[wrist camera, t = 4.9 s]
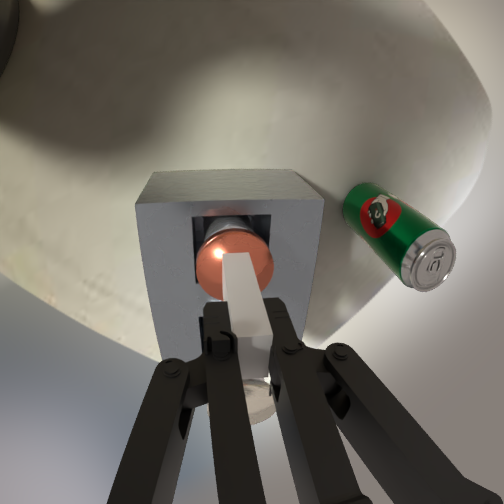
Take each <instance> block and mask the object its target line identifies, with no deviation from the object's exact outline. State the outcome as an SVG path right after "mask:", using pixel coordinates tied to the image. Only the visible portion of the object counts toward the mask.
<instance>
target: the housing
mask: <svg viewBox="0 0 504 504" xmlns="http://www.w3.org/2000/svg"><path fill="white" fill-rule="evenodd" d="M324 202H325V199H324V198H323V197H321V196H320V195H319V194H318V193H317V192H316V191H315V190H314V189H313V188H312V187H311V186H310V185H308V184H307V183H306V182H305V181H304V180H303V179H302V178H301V177H300V176H299V175H297V174H296V173H295V172H294V171H293V170H281V169H222V170H189V171H168V172H154V173H153V174H152V176H151V178H150V179H149V181H148V182H147V184H146V186H145V187H144V189H143V191H142V193H141V194H140V196H139V198H138V199H137V201H136V203H135V210H136V219H137V227H138V235H139V242H140V249H141V256H142V262H143V268H144V274H145V280H146V286H147V291H148V297H149V302H150V307H151V312H152V317H153V322H154V326H155V331H156V335H157V340H158V344H159V348H160V353H161V357H162V361H163V360H165V359H168V358H178V359H181V360H183V361H184V362H188V361H191V360H194V359H196V358H198V357H199V356H200V355H201V354H202V353H203V351H204V342H203V341H204V323H203V308H204V306H205V305H206V303H207V302H220V301H221V300H218V299H216V298H214V297H212V296H210V295H209V294H207V293H206V292H205V291H204V290H203V289H202V287H201V286H200V284H199V282H198V279H197V274H196V259H197V254H198V251H199V249H200V247H201V245H202V244H203V243H204V227H203V216H221V215H248V217H249V220H250V222H251V225H252V228H253V231H254V233H256V234H257V235H259V236H260V237H261V238H262V239H263V240H264V241H265V242H266V244H267V246H268V248H269V250H270V253H271V255H272V258H273V262H274V272H273V276H272V278H271V280H270V282H269V284H268V285H267V287H266V288H265V289H264V290H263V291H262V292H261V295H262V298H274V297H279V298H280V299H281V300H282V301H283V302H284V303H285V305H286V308H287V311H288V313H289V316H290V318H291V321H292V324H293V326H294V329H295V332H296V334H297V337H298V339H299V340H301V341H302V337H303V332H304V327H305V321H306V316H307V311H308V305H309V300H310V294H311V288H312V282H313V277H314V270H315V264H316V258H317V251H318V245H319V238H320V231H321V224H322V217H323V209H324Z"/></svg>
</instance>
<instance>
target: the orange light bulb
mask: <svg viewBox="0 0 504 504" xmlns="http://www.w3.org/2000/svg"><path fill="white" fill-rule="evenodd" d="M203 227H204V243H203V244H202V245H201V247H200V249H199V251H198V254H197V259H196V274H197V279H198V282H199V284H200V286H201V287H202V289H203V290H204V291H205V292H206V293H207V294H209V295H210V296H212V297H214V298H216V299H218V300H221V301H224V299H223V283H222V253H245V252H249V255H250V258H251V261H252V265H253V268H254V272H255V275H256V278H257V282H258V285H259V289H260V292H262V291H263V290H264V289H265V288H266V287H267V285H268V284H269V282H270V280H271V278H272V276H273V272H274V262H273V258H272V255H271V253H270V250H269V248H268V246H267V244H266V242H265V241H264V240H263V239H262V238H261V237H260V236H259V235H257V234H256V233H254V231H253V228H252V225H251V222H250V220H249V217H248V215H221V216H203Z"/></svg>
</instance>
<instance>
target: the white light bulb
mask: <svg viewBox="0 0 504 504" xmlns="http://www.w3.org/2000/svg"><path fill="white" fill-rule="evenodd" d="M242 381H243V387H244V392H245V398H246V403H247V409H248V414H249V420H250V425H254V424H257V423H260V422H262V421H264V420H266V419H268V418H269V417H271V416H272V415H273V414H274V413H275V412H276V408H275V404H274V400H273V396H272V395H271V396H269V388H270V384H268V383H266V382H265V381H264V378H254V379H243V380H242ZM207 410H208V416H209V406H208V403H207Z"/></svg>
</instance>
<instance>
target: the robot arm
mask: <svg viewBox="0 0 504 504" xmlns="http://www.w3.org/2000/svg"><path fill="white" fill-rule="evenodd" d="M18 20H19V6H18V0H0V76H1V74H2V72H3V70H4V68H5V66H6V63H7V61H8V59H9V56H10V53H11V51H12V48H13V45H14V41H15V37H16V33H17V28H18ZM222 283H223V299H224V301H220V302H207V303H206V305H205V306H204V308H203V323H204V341H203V342H204V351H203V353H202V354H201V355H200V356H199V357H198V358H196V359H194V360H191V361H188V362H184V361H183V360H181V359H178V358H168V359H165V360H163V361H161V362H160V363H159V364H158V365H157V367H156V369H155V371H154V374H153V376H152V379H151V381H150V384H149V386H148V389H147V392H146V394H145V397H144V399H143V402H142V405H141V407H140V410H139V413H138V415H137V418H136V421H135V423H134V426H133V429H132V432H131V434H130V437H129V440H128V443H127V445H126V448H125V451H124V454H123V457H122V460H121V462H120V465H119V468H118V471H117V474H116V477H115V480H114V483H113V486H112V489H111V492H110V495H109V498H108V501H107V504H172V502H173V498H174V494H175V489H176V485H177V480H178V476H179V472H180V468H181V464H182V460H183V456H184V452H185V447H186V443H187V439H188V435H189V431H190V427H191V422H192V419H193V415H194V411H195V407H198V406H201V405H204V404H207V403H208V406H209V418H210V429H211V439H212V449H213V458H214V467H215V475H216V484H217V492H218V499H219V504H266V501H265V496H264V491H263V486H262V481H261V477H260V471H259V467H258V461H257V456H256V451H255V446H254V441H253V436H252V430H251V425H250V420H249V414H248V409H247V403H246V398H245V392H244V387H243V381H242V380H243V379H254V378H264V377H268V373H270V377H271V381H270V388H269V396H271V395H272V396H273V400H274V404H275V408H276V412H277V416H278V420H279V424H280V428H281V432H282V436H283V440H284V444H285V448H286V452H287V456H288V460H289V464H290V468H291V472H292V476H293V480H294V483H295V487H296V491H297V495H298V499H299V503H300V504H373V503H372V501H371V500H370V499H369V497H367V496H365V495H363V494H362V493H361V491H360V489H359V486H358V483H357V480H356V478H355V475H354V472H353V469H352V466H351V464H350V461H349V458H348V456H347V453H346V450H345V447H344V445H343V442H342V439H341V437H340V434H339V431H338V429H337V426H338V427H339V429H340V430H341V432H342V433H343V434H344V436H345V437H346V439H347V440H348V441H349V443H350V444H351V445H352V447H353V448H354V450H355V451H356V452H357V454H358V455H359V457H360V458H361V459H362V461H363V462H364V464H365V465H366V466H367V468H368V469H369V470H370V472H371V473H372V475H373V476H374V477H375V479H376V480H377V481H378V483H379V484H380V485H381V487H382V488H383V489H384V491H385V492H386V493H387V495H388V496H389V497H390V499H391V500H392V501H393V503H394V504H503V501H502V499H501V497H500V496H498V495H497V494H496V493H494V492H492V491H490V490H487V489H486V488H484V487H482V486H480V485H478V484H476V483H474V482H472V481H470V480H468V479H467V478H465V477H463V476H462V474H461V473H460V472H459V471H458V470H457V469H456V467H455V466H454V465H453V464H452V463H451V461H450V460H449V459H448V458H447V457H446V455H444V453H443V452H442V451H441V450H440V449H439V447H438V446H437V445H436V444H435V443H434V442H433V440H432V439H431V438H430V437H429V436H428V434H426V432H425V431H424V430H423V429H422V428H421V426H420V425H419V424H418V423H417V422H416V421H415V419H414V418H413V417H412V416H411V415H410V414H409V413H408V411H407V410H406V409H405V408H404V407H403V406H402V404H401V403H400V402H399V401H398V400H397V399H396V398H395V396H394V395H393V394H392V393H391V392H390V391H389V390H388V388H387V387H386V386H385V385H384V384H383V383H382V382H381V380H380V379H379V378H378V377H377V376H376V375H375V374H374V372H373V371H372V370H371V369H370V368H369V367H368V366H367V364H366V363H365V362H364V361H363V360H362V359H361V358H360V357H359V356H358V354H357V353H356V352H355V351H354V350H353V349H352V348H351V347H350V346H349V345H346V344H344V343H333V344H331V345H329V346H328V347H327V348H326V350H321V349H314V348H310V347H307V346H306V345H305V344H304V342H302V341H301V340H299V339H298V337H297V334H296V332H295V329H294V326H293V324H292V321H291V318H290V316H289V313H288V311H287V308H286V305H285V303H284V302H283V301H282V300H281V299H280V298H279V297H274V298H262V295H261V292H260V289H259V285H258V282H257V278H256V275H255V272H254V268H253V265H252V261H251V258H250V255H249V252H245V253H222ZM336 425H337V426H336Z"/></svg>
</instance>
